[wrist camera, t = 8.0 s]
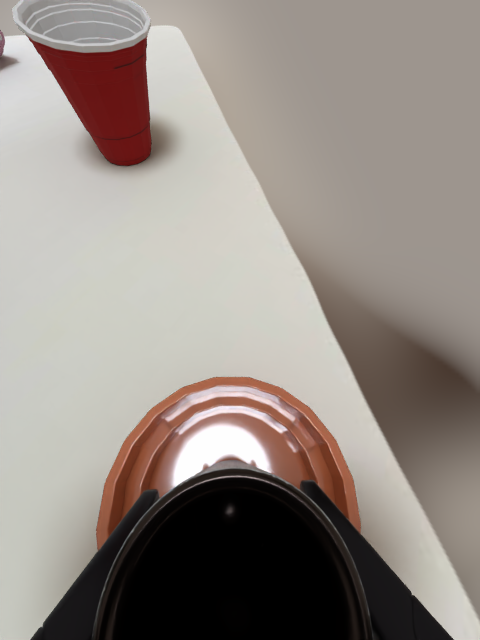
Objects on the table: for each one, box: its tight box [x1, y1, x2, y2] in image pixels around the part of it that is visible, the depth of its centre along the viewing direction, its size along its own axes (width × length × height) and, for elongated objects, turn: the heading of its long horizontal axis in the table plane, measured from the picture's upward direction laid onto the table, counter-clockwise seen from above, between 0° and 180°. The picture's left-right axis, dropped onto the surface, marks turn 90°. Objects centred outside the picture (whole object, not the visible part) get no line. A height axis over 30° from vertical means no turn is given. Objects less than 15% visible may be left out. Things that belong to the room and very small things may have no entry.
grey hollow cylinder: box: [92, 460, 373, 640], centre depth 9 cm, size 4×4×10 cm
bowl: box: [96, 377, 361, 550], centre depth 16 cm, size 14×14×4 cm
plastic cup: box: [12, 0, 152, 166], centre depth 28 cm, size 11×11×12 cm
